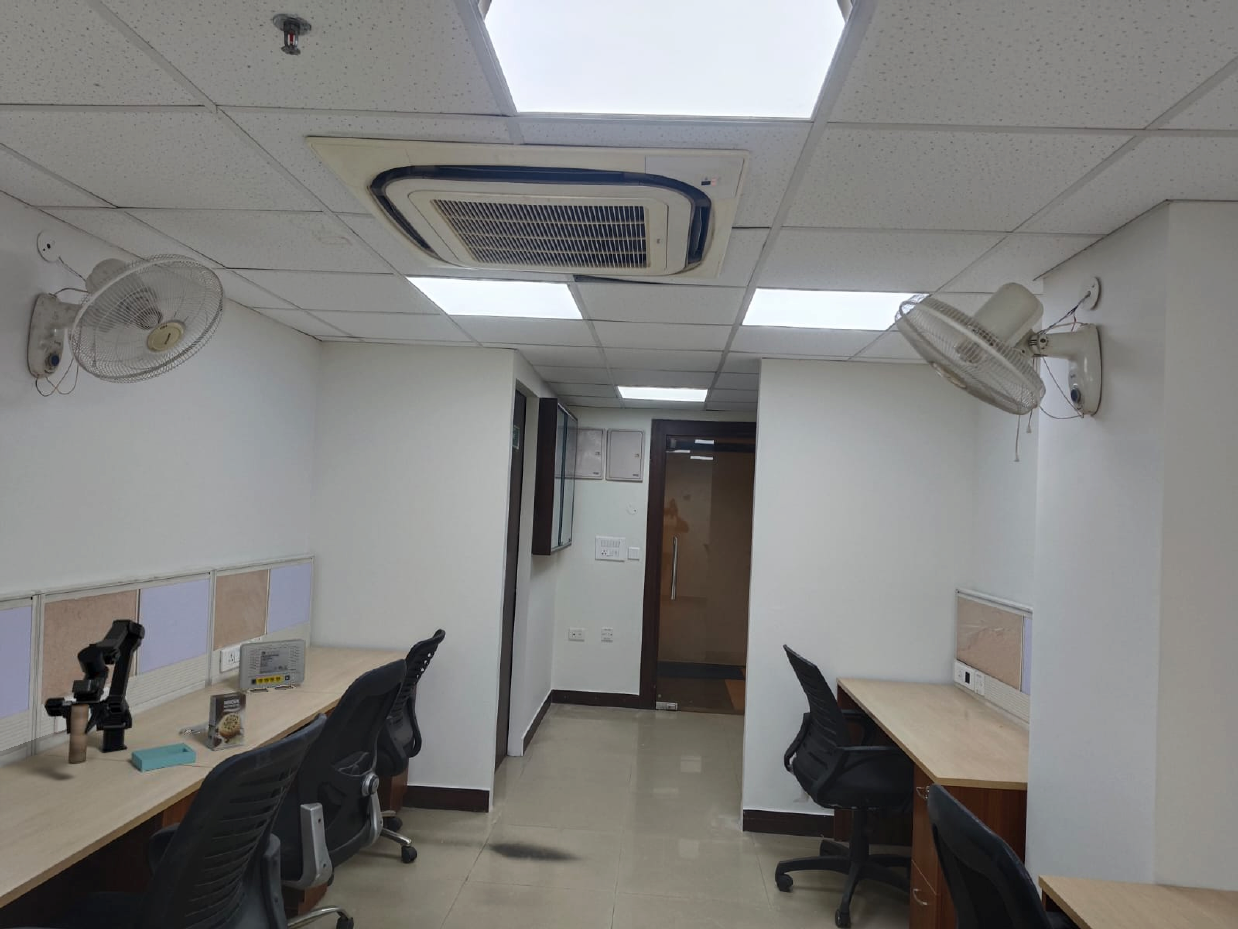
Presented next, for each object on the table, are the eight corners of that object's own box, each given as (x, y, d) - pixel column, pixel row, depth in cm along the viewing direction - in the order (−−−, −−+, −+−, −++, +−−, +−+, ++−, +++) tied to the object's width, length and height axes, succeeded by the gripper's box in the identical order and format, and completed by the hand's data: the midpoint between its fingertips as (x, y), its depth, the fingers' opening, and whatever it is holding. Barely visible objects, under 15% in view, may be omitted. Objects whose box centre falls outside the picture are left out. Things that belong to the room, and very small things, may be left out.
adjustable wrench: (227, 717, 288) (228, 712, 288) (243, 719, 287) (243, 714, 287) (176, 735, 264) (177, 730, 264) (193, 736, 262) (194, 731, 263)
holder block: (131, 762, 234) (131, 751, 234) (183, 752, 244) (183, 742, 244) (141, 771, 225) (142, 761, 226) (195, 762, 235) (195, 751, 235)
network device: (299, 684, 343) (301, 638, 344) (306, 688, 336) (308, 640, 337) (236, 692, 327) (238, 643, 328) (241, 696, 320) (244, 646, 321)
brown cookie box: (214, 751, 246) (216, 698, 247) (206, 747, 250) (209, 695, 251) (244, 745, 252) (246, 694, 253) (236, 741, 257) (239, 691, 258)
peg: (66, 761, 217) (70, 706, 217) (84, 758, 219) (87, 703, 220) (69, 765, 214) (73, 708, 215) (87, 762, 216) (90, 706, 217)
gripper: (49, 668, 219) (29, 719, 208) (125, 666, 225) (110, 715, 213) (58, 691, 226) (39, 741, 215) (132, 688, 232) (118, 737, 220)
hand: (77, 733), depth 216 cm, fingers closed on peg, 4 cm apart
